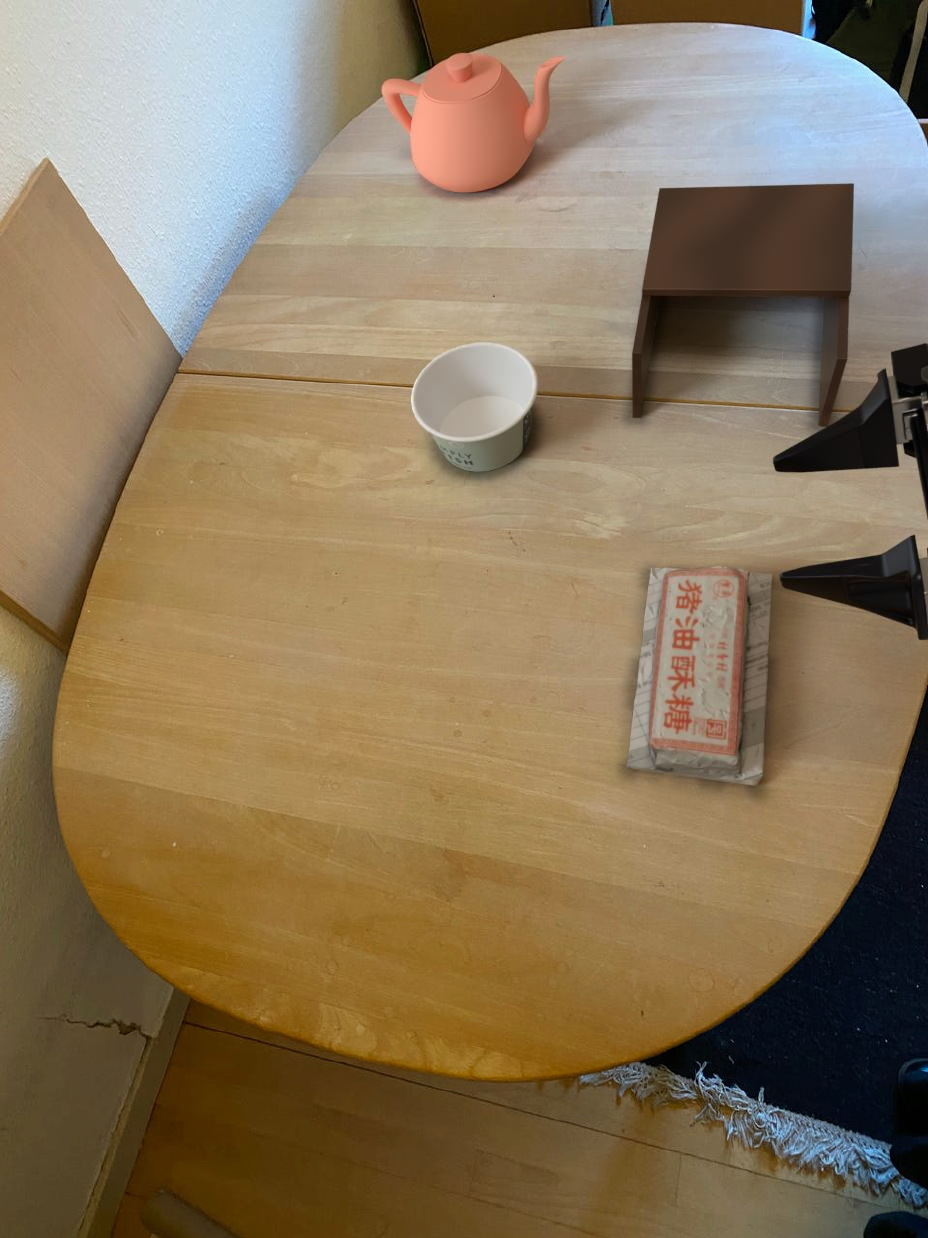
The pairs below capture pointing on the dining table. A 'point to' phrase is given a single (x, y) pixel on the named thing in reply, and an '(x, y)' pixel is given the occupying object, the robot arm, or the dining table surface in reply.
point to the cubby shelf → (752, 261)
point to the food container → (477, 404)
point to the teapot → (471, 120)
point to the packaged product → (703, 675)
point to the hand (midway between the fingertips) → (777, 519)
